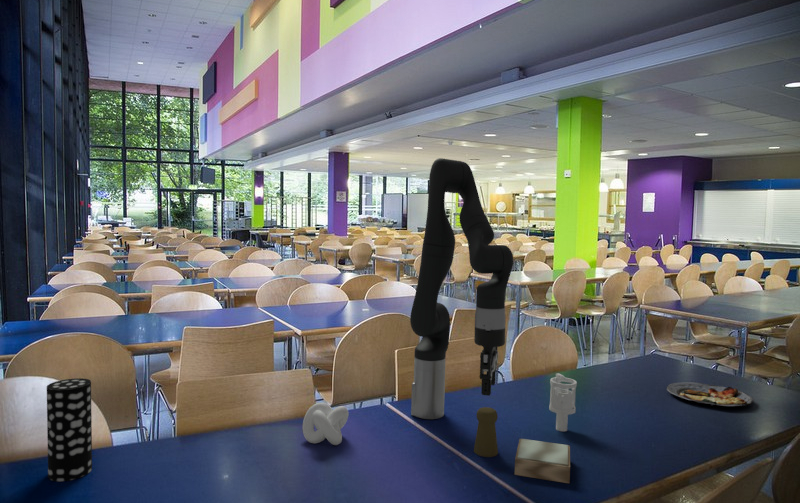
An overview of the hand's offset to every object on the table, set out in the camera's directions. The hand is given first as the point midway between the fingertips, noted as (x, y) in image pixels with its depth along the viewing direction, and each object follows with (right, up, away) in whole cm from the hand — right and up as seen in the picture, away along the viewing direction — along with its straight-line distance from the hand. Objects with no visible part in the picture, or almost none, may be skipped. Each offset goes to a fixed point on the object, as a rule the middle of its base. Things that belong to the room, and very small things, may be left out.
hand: (488, 389), depth 133 cm
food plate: (+82, -16, +46) cm, 95 cm away
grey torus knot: (-41, -15, +6) cm, 44 cm away
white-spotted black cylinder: (-95, -15, -14) cm, 98 cm away
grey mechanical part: (+23, -16, +16) cm, 33 cm away
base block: (+12, -17, -7) cm, 21 cm away
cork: (-1, -16, +1) cm, 16 cm away
